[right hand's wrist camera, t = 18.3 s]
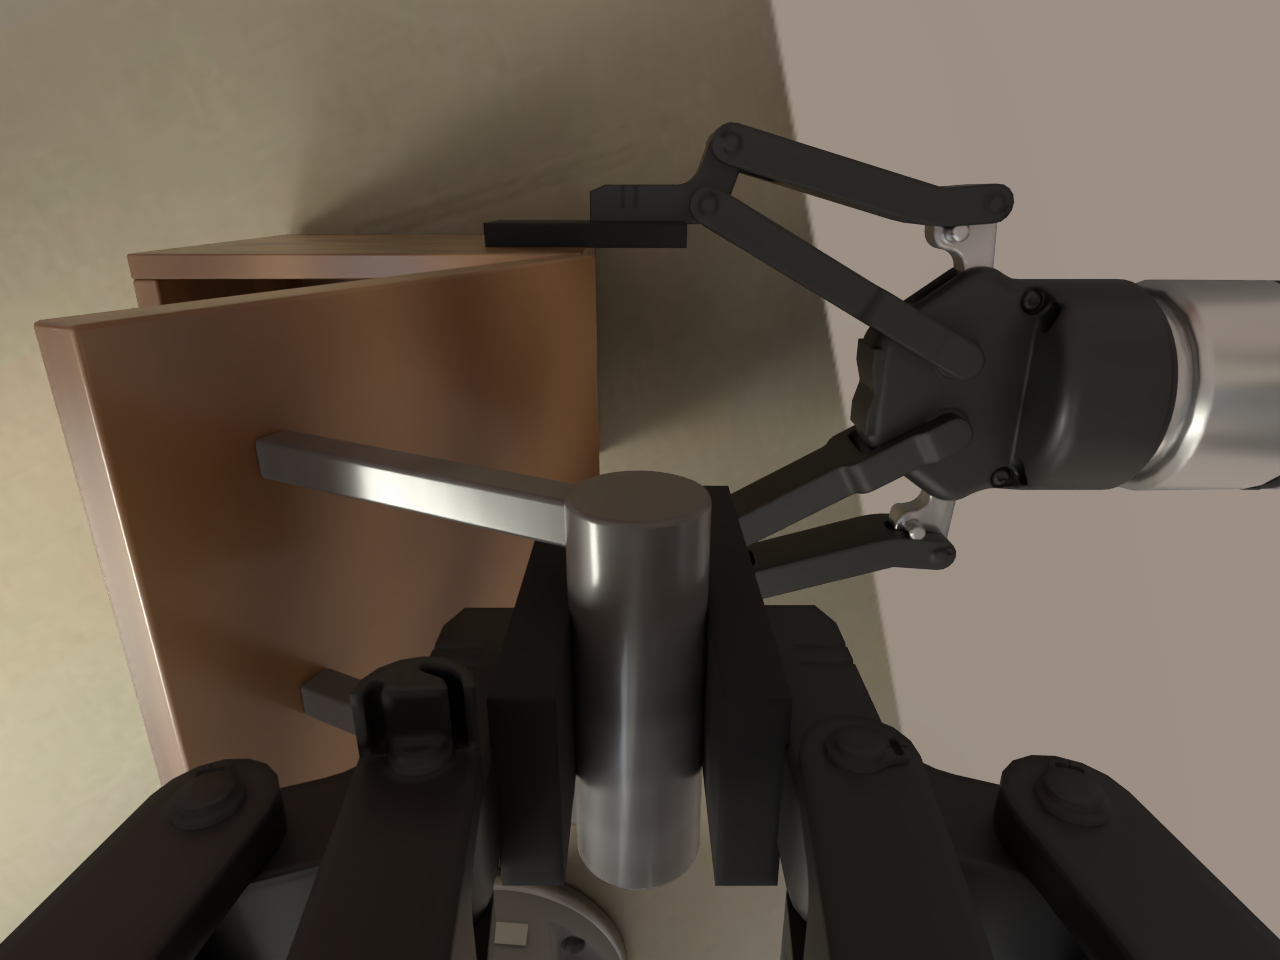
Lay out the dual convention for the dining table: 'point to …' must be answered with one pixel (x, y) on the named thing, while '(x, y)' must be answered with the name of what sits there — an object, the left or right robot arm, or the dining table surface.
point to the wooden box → (309, 263)
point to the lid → (386, 524)
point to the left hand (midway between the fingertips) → (501, 386)
